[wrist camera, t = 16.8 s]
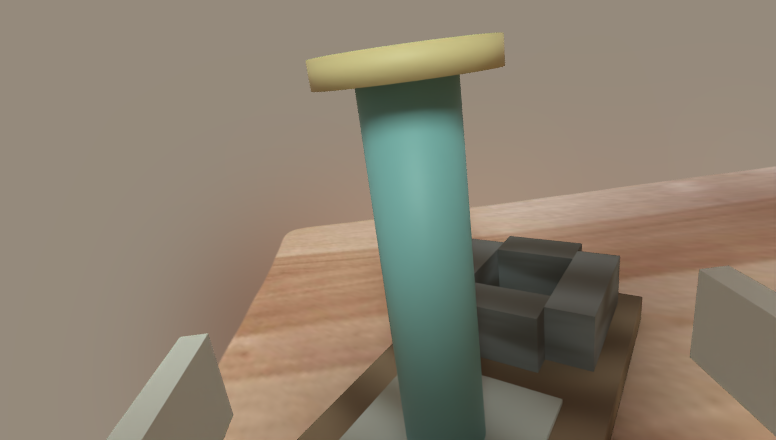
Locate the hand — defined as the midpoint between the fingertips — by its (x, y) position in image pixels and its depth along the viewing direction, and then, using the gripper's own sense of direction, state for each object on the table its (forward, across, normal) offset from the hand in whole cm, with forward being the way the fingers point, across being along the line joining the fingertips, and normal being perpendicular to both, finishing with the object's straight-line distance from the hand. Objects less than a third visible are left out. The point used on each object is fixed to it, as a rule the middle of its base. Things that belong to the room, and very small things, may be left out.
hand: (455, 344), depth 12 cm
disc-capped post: (+9, 0, -12) cm, 15 cm away
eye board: (+14, +4, -14) cm, 20 cm away
